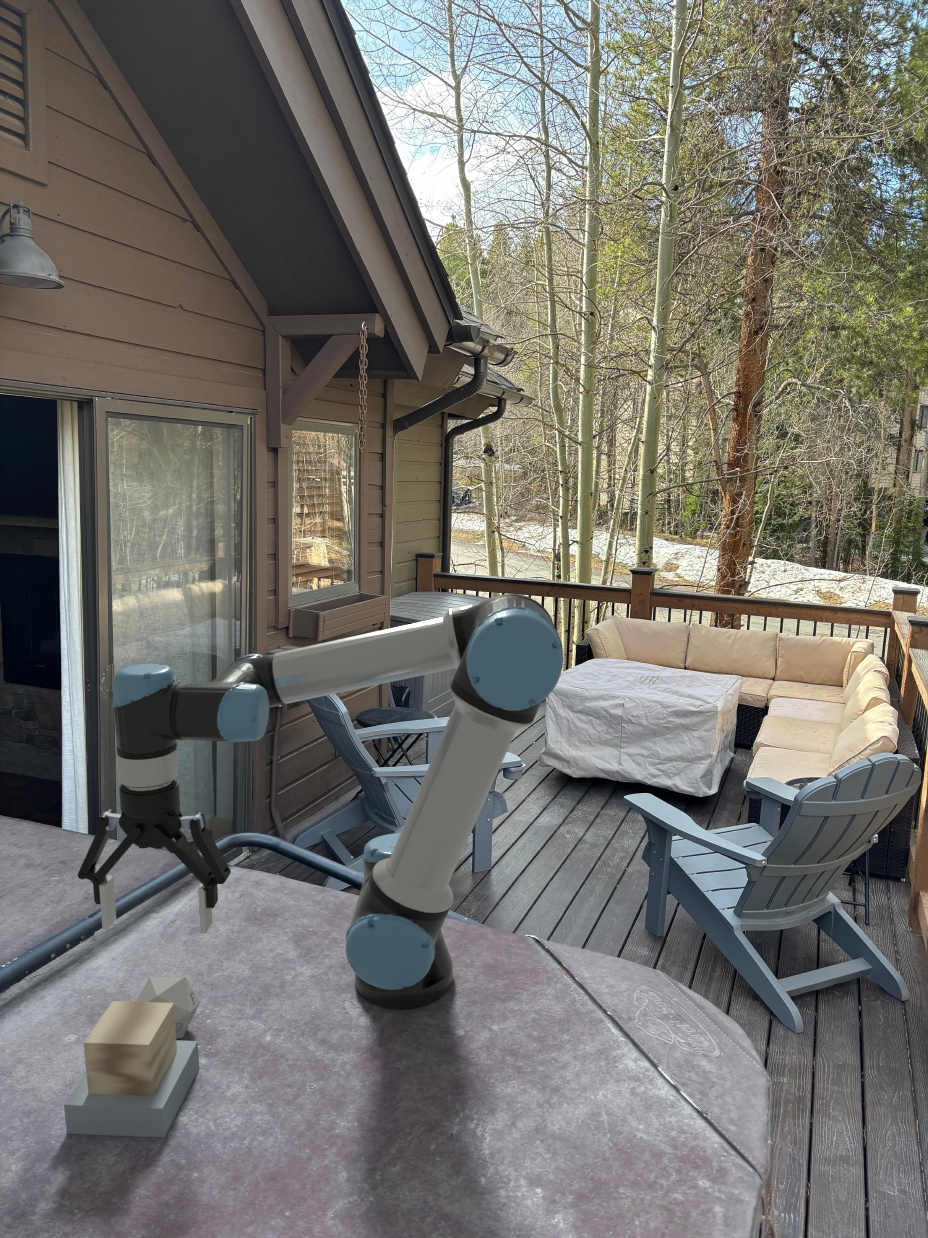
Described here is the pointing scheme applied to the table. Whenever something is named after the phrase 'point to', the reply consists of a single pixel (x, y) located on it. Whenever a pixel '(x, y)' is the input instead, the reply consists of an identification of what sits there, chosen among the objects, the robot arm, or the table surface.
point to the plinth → (134, 1102)
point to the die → (172, 999)
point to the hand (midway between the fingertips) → (157, 926)
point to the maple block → (130, 1048)
